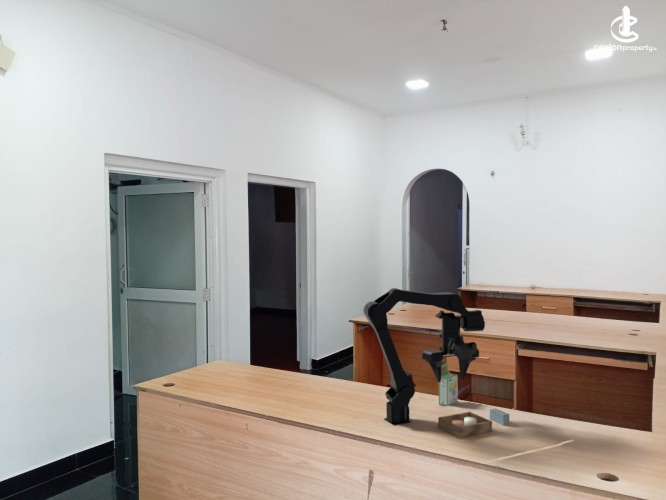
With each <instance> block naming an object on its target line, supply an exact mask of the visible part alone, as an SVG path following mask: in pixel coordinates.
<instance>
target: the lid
mask: <svg viewBox="0 0 666 500" xmlns="http://www.w3.org/2000/svg"><path fill="white" fill-rule="evenodd" d="M489 420H490V421H492V422H494V423H496V424H499V425H502V426H507V425H510V413H508V412H505V411H503V410H501V409H498V408H491V409H489Z"/></svg>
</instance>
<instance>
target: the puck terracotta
mask: <svg viewBox="0 0 666 500" xmlns="http://www.w3.org/2000/svg"><path fill="white" fill-rule="evenodd" d="M452 423H453V424H455V425H457V426H459V427H462V426H464V421H461V420H453V421H452Z"/></svg>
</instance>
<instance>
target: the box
mask: <svg viewBox="0 0 666 500" xmlns="http://www.w3.org/2000/svg"><path fill="white" fill-rule="evenodd" d="M465 417H473V418H476V424H472V425H467V426H462V427H459V426H457V425H455V424H453V423H452V421H453V420H461V421H464V418H465ZM437 421H438V423H437V424H438V426H437V427H438V428H439V429H441V430H443V431H444V432H447V433H448V434H450V435H452V436H454V437H456V438H458V439H464V438H469V437H474V436H478V435H482V434H488V433H491V432H493V421H492V420H490V419H487V418H485V417H483V416H480V415H478V414H476V413H473V412H471V411H465V412H460V413H455V414H454V413H453V414H450V415H444V416H439V417H438V420H437Z"/></svg>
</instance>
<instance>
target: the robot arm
mask: <svg viewBox="0 0 666 500" xmlns="http://www.w3.org/2000/svg"><path fill="white" fill-rule="evenodd" d="M463 301H464V300H463V298H462V297H461V295H459V294H458V293H453V292H450V291H448V292H446V291H445V292H434V293H433V292H432V293H429V292H422V291H413V290H407V289H399V288H396V287H393V288H390V289H389V290H388V291H387V292H386V293H384V294H382V295H380V296H379V297H378V298H376V299H374V300H373V301H369V302H367V303H366V304H365V305H364V308H363V314H364V316H365V318H366V320H367V321H368V323H369V324H370V326H371V327H372V329H373V330H374V333H375V334H376V337H377V340H378V342H379V345H380V347H381V351H382V353H383V356H384V358H385V362H386V364H387V367H388V369H389V374H390V377H389V378H390V384H391V386H390V387H389V388H388V389H387V391H386V392H385V397H386V399H387V400H388V401H386V407H385V410H386V417H385V418H383V420H384V421H385V422H388V423H389V424H391V425H393V426H399V425H405V424H410V423H412V421H411V420H410V406H409V404H410V401H411V399H412V398H413V397H414V396H415V394H416V389H415V387H416V388H417V385H416V384H415V383H414V379H413V375H412V373H411V372H409V371H408V370H407V369H405V370H404V367H403V366H402V362H401V360H400V358H399V355H398V352H397V349H396V347H395V344H394V341H393V338H392V336H391V333H390V331H389V328H388V327H389V326H388V325H389V324H388V323H389V322H388V315H387V314H388V313H389V312H390V311H392V309H393V308H394V307H395V306H396V305H397V304H398V303H399V302H401V303H402V302H403V303H411V304H417V305H425V306H433V307H437V308H440V309H443V310H439V312H437V314H435V318H437V319H439V320H441V333H440V334H439V338H440V339H441V346H439V350H437V349H424V350H423V352H422V354H421V356H422V357H421V359H422V360H425V362H427V363H428V364H429V366H430V367H431V370H432V372H433V374H434V376H435V378H436V381H437V382H438V383H439V382H441V371H442V369H441V366H442V365H444V363H445V362H444V361H443V359H444V358H450V357H456V358H457V359H458V366H459V367H458V368H459V375H460V379H461V380H464V379H465V378H466V375H467V372H468V369H469V366H470V364H471V363H472V362H473V361H476V360H477V358H480V350H479V348H478V347H477V346H478V345H477V342H475V341H472V342H471V341H470V342H469V343H468V342H465V340H464V337H463V336H464V335H461V329H462V330H463V332H466V333H468V332H483V331H484V330H485V327H486V322H485V319H484V318H485V317H484V315H483V314H482V313H483V311H482V310H480V309H474V310H468V309H467V308H466V306H465V305H464V303H463ZM444 310H445V311H449V312H445V311H444ZM455 313H456V314H457V315H456V314H455Z"/></svg>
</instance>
